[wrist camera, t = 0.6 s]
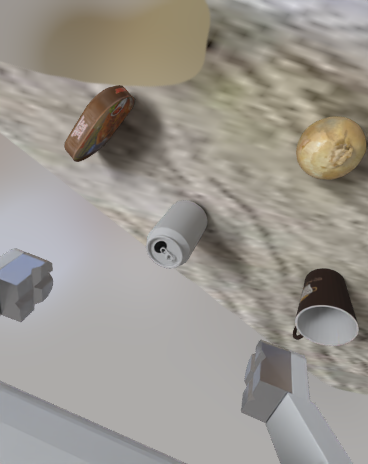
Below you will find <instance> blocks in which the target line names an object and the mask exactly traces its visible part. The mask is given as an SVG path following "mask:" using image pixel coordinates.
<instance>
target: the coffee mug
mask: <svg viewBox="0 0 368 464" xmlns="http://www.w3.org/2000/svg"><path fill="white" fill-rule="evenodd" d="M295 325H296V326H295V328H294V330H293V338H295V339H297V340H299V339H301V338H303V337H305V338H306V339H308V340H310V341H312V342H314V343H317V344H321V345H326V346H338V345H343V344H347V343H349V342H351V341H352V340H353V339H355V337H356V336H357V334H358V331H359V327H358V323H357V320H356V317H355V313H354V310H353V307H352V304H351V300H350V297H349V294H348V290H347V287H346V284H345V281H344V278H343V277H342V276H341V275H340V274H339V273H338V272H336V271H334V270H331V269H323V268H322V269H316V270H313V271H311V272H310V273H309V274H308V275H307V276H306V279H305V283H304V287H303V291H302V295H301V299H300V303H299V307H298V311H297V315H296V320H295ZM297 330H298V331H299V333H300V335H298V336H297V335H296V332H297Z"/></svg>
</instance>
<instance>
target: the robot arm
mask: <svg viewBox="0 0 368 464" xmlns="http://www.w3.org/2000/svg"><path fill="white" fill-rule="evenodd" d="M52 270H53V268H52V263H51V262H49V261H47V260H44V259H42V258H40V257H37V256H35V255H32V254H30V253H26V252H24V251H22V250H19V249H11V250H10V251H8V252H6V253H5V254H4V255H2V256H0V315H3V316H6V317H8V318H11V319H14V320H17V321H19V322H22V321H23V320H24V319H25V318H26V317H27V316H28V315H29V314H30V313H31V312H32V311H33V310H34V306H35V304H37V303H40V302H42V301H44V300H45V299H46V298H47V296H48V295H49V293H50V291H51V290H52V286H53V278H52V277H51V275H50V272H51V271H52ZM245 383H246V385H247V387H246V389H245V391H244V393H243V399H242V408H241V412H242V413H244V414H246V415H249V416H251V417H253V418H256V419H258V420H260V421H262V422H265V423H266V427H267V429H268V432H269V434H270V437H271V440H272V442H273V445H274V448H275V450H276V453H277V455H278V458H279V461H280V463H281V464H353V463H352V461H351V459H350V458H349V456H348V455H347V453H346V452H345V450H344V448H343V447H342V446H341V444H340V442H339V440H338V439H337V437H336V436H335V434H334V433H333V431H332V429H331V428H330V426H329V425H328V423H327V422H326V420H325V418H324V417H323V415H322V414H321V412H320V411H319V409H318V407H317V406H316V404H315V403H314V402H311V401H310V394H309V385H308V374H307V364H306V358H305V356H304V355H302V354H299V353H296V352H293V351H291V350H288V349H285V348H282V347H280V346H277V345H274V344H271V343H268V342H266V341H263V340H260V341H259V342H258V344H257V346H256V353H255V354H252V355H251V358H250V360H249V362H248V365H247V369H246V374H245ZM0 464H186V463H184V462H182V461H179V460H177V459H175V458H173V457H171V456H168V455H166V454H164V453H162V452H159V451H157V450H155V449H153V448H150V447H148V446H146V445H144V444H141V443H139V442H137V441H135V440H132V439H130V438H128V437H125V436H123V435H121V434H119V433H117V432H114V431H112V430H110V429H108V428H106V427H103V426H101V425H99V424H96V423H94V422H92V421H90V420H88V419H85V418H83V417H81V416H78V415H76V414H74V413H71V412H69V411H67V410H65V409H63V408H60V407H58V406H56V405H54V404H51V403H49V402H47V401H45V400H42V399H40V398H38V397H36V396H33V395H31V394H29V393H26V392H24V391H22V390H20V389H18V388H15V387H13V386H11V385H8V384H6V383H4V382H2V381H0Z"/></svg>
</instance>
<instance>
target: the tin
mask: <svg viewBox="0 0 368 464" xmlns="http://www.w3.org/2000/svg"><path fill="white" fill-rule="evenodd" d="M134 102H135V100H134V97H133V96H131V95H130V94H129V92H128V91H127V90H126V89H125V88H124V87H123V86H120V85H118V86H113V87H109V88H107V89H105V90H103V91H102V92H100V93H99V94H98V95H97V96H95V97H94V98H93V99H92V101H91V102H90V103H89V104H88V105H87V107H86V108H85V110H84V112H83V113H82V115H81V116H80V118H79V120H78V121H77V123H76V125H75V126H74V128H73V129H72V131H71V133H70V134H69V136H68V138H67V139H66V142H65V145H64V147H65V150H66V151H67V152H68V153H69V155H70V156H71V157H72V158H73V160H74V161H75V162H79V161H82V160H84V159H86V158H88V157H90V156H91V155H93V154H94V153H95V152H97V151H98V150H99V149H100V148H102V147H103V146H104V145H105V143H106V142H107V141H108V140H109V139H110V137H111V136H112V135H113V133H114V132H115V131H116V129H117V128H118V127H119V125H120V124H121V123H122V121H123V120H124V119H125V117H126V116H127V115H128V113H129V112H130V111H131V109H132V107H133V105H134Z"/></svg>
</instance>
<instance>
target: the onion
mask: <svg viewBox="0 0 368 464" xmlns="http://www.w3.org/2000/svg"><path fill="white" fill-rule="evenodd" d="M365 152H366V139H365V135H364V133H363V131H362V129H361V127H360V126H359V125H358V124H357V123H355V122H354V121H352V120H350V119H348V118H345V117H328V118H325V119H322V120H319V121H317V122H315V123H313V124H312V125H311V126H309V127H308V128H307V129H306V130H305V131H304V133H303V134H302V136H301V138H300V140H299V142H298V145H297V151H296V154H297V160H298V163H299V165H300V167H301V168H302V169H303V170H304V171H305V172H306V173H307V174H308V175H310V176H312V177H315V178H318V179H328V180H330V179H336V178H339V177H342V176H344V175H346V174H347V173H349V172H350V171H352V170H353V169H354V168H356V167H357V165H358V164H359V163H360V161H361V159H362V157H363V156H364V154H365Z"/></svg>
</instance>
